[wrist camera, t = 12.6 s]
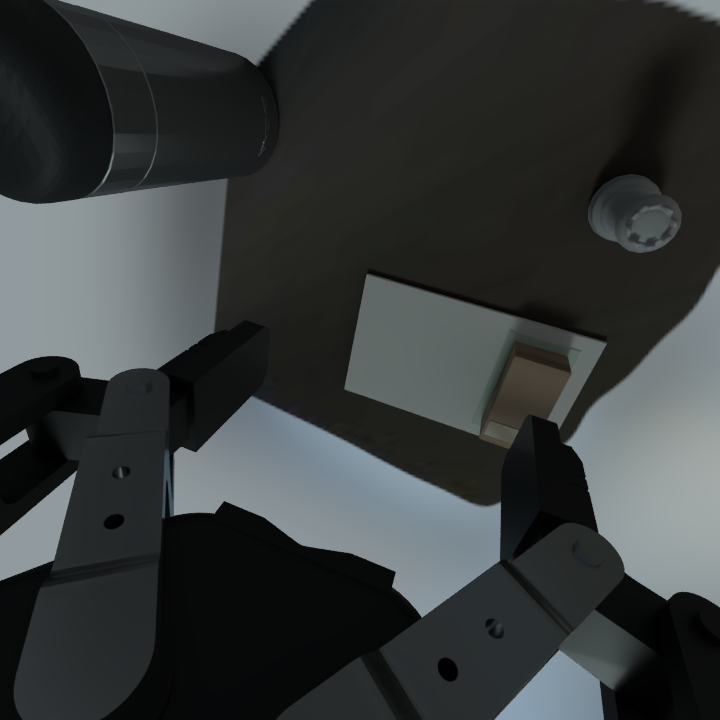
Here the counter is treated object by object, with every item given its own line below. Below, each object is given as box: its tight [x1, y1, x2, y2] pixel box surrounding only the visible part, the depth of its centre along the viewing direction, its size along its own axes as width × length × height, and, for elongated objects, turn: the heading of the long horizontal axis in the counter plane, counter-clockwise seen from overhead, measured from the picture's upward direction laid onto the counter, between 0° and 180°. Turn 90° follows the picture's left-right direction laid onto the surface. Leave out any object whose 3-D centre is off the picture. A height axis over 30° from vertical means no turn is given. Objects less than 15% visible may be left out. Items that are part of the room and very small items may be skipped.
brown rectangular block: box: [479, 341, 572, 449], centre depth 37 cm, size 9×4×3 cm, turn 170°
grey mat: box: [344, 273, 607, 436], centre depth 40 cm, size 21×13×1 cm, turn 80°
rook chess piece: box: [588, 174, 682, 253], centre depth 27 cm, size 4×4×8 cm
